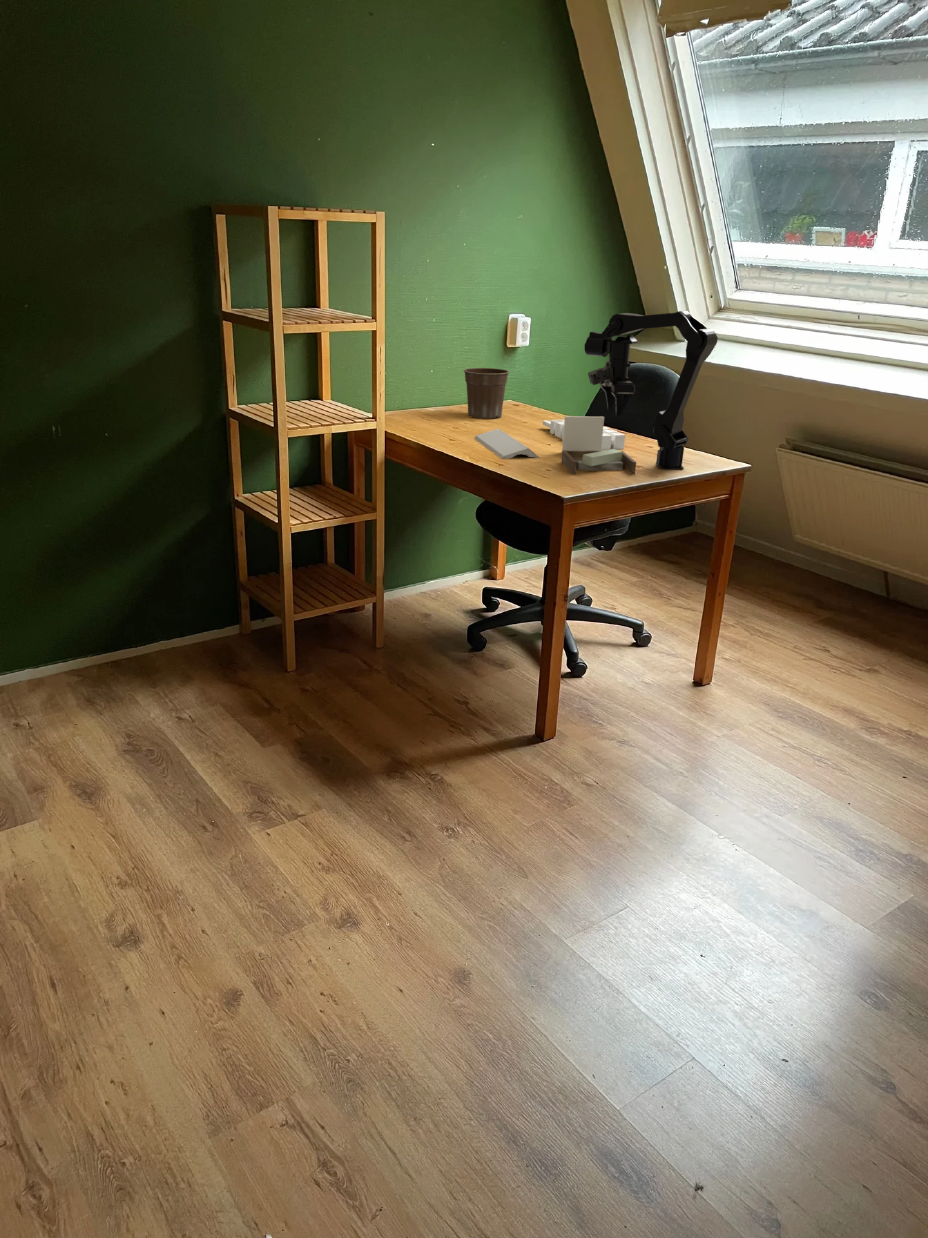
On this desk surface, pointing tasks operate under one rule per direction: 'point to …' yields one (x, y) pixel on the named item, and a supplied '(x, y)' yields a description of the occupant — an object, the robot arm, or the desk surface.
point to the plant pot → (485, 391)
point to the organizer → (608, 439)
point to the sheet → (582, 433)
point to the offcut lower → (600, 466)
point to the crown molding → (503, 444)
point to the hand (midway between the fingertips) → (613, 412)
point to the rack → (573, 456)
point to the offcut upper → (602, 457)
